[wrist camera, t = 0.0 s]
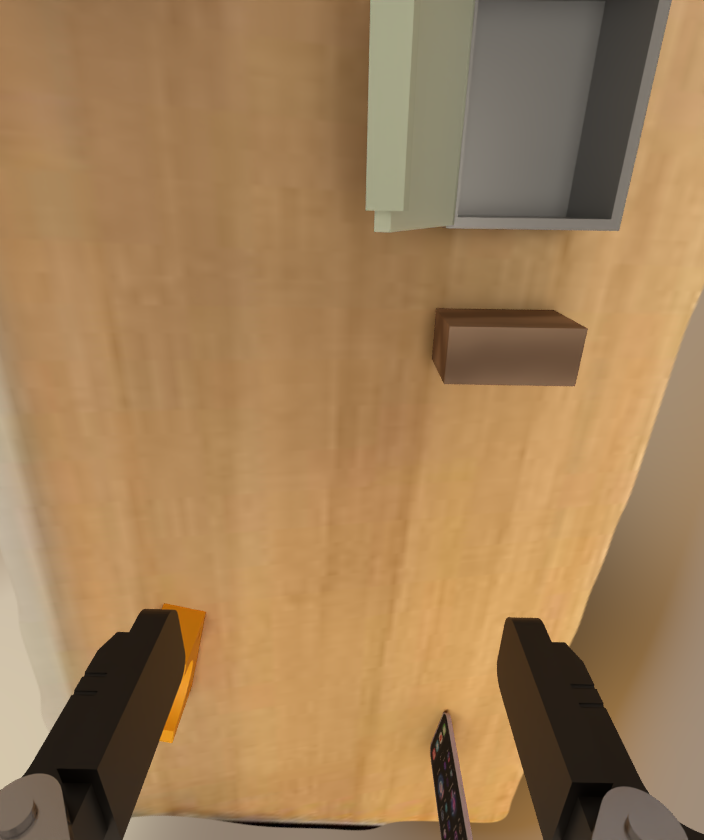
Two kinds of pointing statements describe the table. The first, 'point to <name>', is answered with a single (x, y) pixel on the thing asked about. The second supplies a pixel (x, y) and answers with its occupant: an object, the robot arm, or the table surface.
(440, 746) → the smartphone
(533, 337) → the brown rectangular block
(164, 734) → the pipe clamp
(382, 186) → the lid
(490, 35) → the box
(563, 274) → the table surface
